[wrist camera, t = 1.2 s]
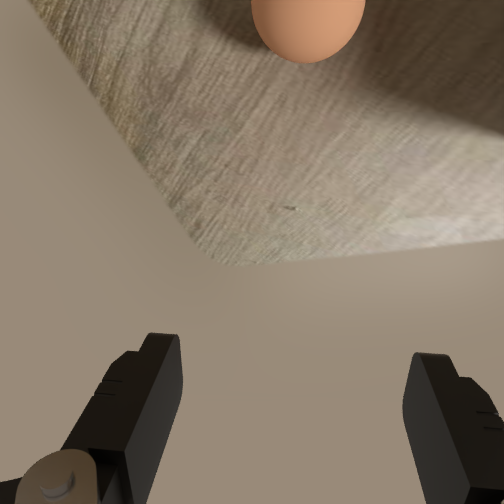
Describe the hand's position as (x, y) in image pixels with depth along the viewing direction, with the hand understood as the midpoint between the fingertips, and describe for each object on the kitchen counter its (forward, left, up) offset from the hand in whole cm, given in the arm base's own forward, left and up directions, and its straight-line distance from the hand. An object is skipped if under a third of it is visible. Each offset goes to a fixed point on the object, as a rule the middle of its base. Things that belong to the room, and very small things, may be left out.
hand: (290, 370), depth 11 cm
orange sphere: (-3, -9, -15) cm, 18 cm away
